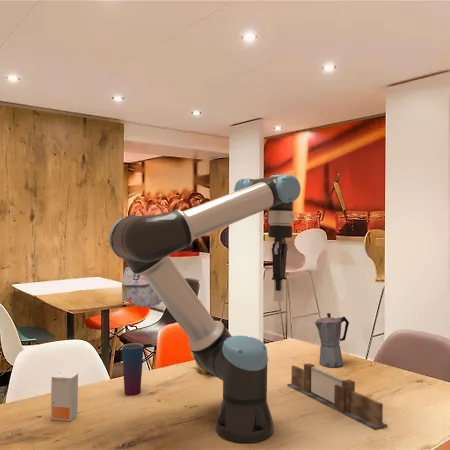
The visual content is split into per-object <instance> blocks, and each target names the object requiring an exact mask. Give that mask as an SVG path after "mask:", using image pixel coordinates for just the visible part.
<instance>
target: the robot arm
mask: <svg viewBox="0 0 450 450" xmlns="http://www.w3.org/2000/svg"><path fill="white" fill-rule="evenodd" d="M300 194H301V183H300V182H299V179H298V178H297V177H296V176H295V175H292V174H272V175H270V176H269V177H263V178H260V177H259V178H254V179H253V178H249V177H247V178H239V179H238V180H237V181H236V183H235V185H234V189H233V192H231V193H228V194H226V195H222V196H219V197H218V198H215V199H212V200H210V201H207V202H204V203H201V204H199V205H196V206H194V207H191V208H188V209H186V210H185V209H184V211H181V210H179V209H174V210H171V211H167V212H163V213H158V214H150V215H149V214H146V215H145V214H143V215H137V214H132V215H131V214H130V215H127V216H125V217H122V218H120V219H118V220H117V221H115V223H114V224H113V225H112V227H111V229H110V232H109V237H108V242H109V246H110V249H111V250H112V252H113V253H114V254H115V255H116V256H117V257H118V258H121V259H122V260H123V261H124V262H125V264H126V265H127V266H128V267H129V268H130V269H131V270H132V272H133V273H134V274H135V275H142V276H144V278H145V279H146V281H147V282H148V283H149V285H150V286H151V287H152V289H153V290H154V291H155V293H156V294H157V295H158V297H159V298H160V301H161V302H162V304H163V305H164V306H165V308H166V309H167V311H168V312H169V313H170V315H171V316H172V318H174V320H175V321H176V322H177V323H178V325H179V327H180V328H181V329H182V330H183V332H184V333H185V334H186V336H187V337H188V339H189V341H188V347H189V349H190V352H191V351H192V352H193V357H194V358H193V357H192V358H193V359H194V361H195V363H196V362H197V364H198V365H199V366H200V367H201V368H202V369H203V370H205V371H207V373H210V374H211V375H213V376H215V377H216V378H218V379H219V380H221V381H222V401H221V404H220V407H219V410H218V414H217V416H216V420H215V432H216V433H217V435H218V436H220V437H221V438H223V439H224V440H228V441H231V442H236V443H243V444H244V443H256V442H261V441H264V440H267V439H268V438H269V437H270V438H271V436H272V435H273V434H274V419H273V417H272V412H271V410H270V407H269V404H268V400H267V399H268V362H269V358H268V350H267V346H266V344H265V343H264V342H263V341H261V340H260V339H258V338H256V337H252V336H248V335H231V333H230V331H229V330H228V329H227V327H226V326H225V324H224V323H223V322H222V321H220V320H214V318H213V317H212V316H211V314H210V313H209V312H208V310H207V308H206V307H205V306H204V304H203V303H202V302H201V300H200V298H199V297H198V296H197V294H196V292H194V290H193V289H192V287H191V286H190V285H189V283H188V282H187V280H186V279H185V276H183V273H181V272H180V270H179V269H178V267H177V266H176V265H175V263H174V262H173V260H172V259H171V257H170V255H172V254H175V253H177V252H179V251H182V250H184V249H185V248H188V247H190V246H192V244H193V241H195V240H196V239H199V238H201V237H203V236H206V235H208V234H210V233H211V234H212V233H214V232H215V231H218V230H220V229H221V230H222V229H223V228H225V227H227V226H230V225H232V224H235V223H237V222H239V221H242V220H244V219H247V218H249V217H251V216H253V215H256V214H258V213H260V212H263V211H265V210H268V221H267V222H268V224H269V225H268V228H267V236H268V237H269V238H274V242H273V243H272V247H271V254H272V255H271V256H272V277H271V281H272V280H273V281H274V283H273V284H274V285H273V287H274V288H273V301H274V302H284V296H285V295H284V294H285V293H284V291H285V289H284V288H285V287H284V286H285V280H287V277H286V267H287V266H286V265H287V256H288V249H289V248H288V243H287V242H286V239H291V238H293V231H294V230H293V226H292V224H293V221H294V220H293V218H296V217H295V216H296V215H295V214H294V212H293V211H294V202H295V201H296V200H297V199H298V198H299V197H300Z"/></svg>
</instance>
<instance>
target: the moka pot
mask: <svg viewBox="0 0 450 450" xmlns="http://www.w3.org/2000/svg"><path fill="white" fill-rule="evenodd" d="M343 322H345V325H344V332H343V336H342V335H341V332H342V323H343ZM349 323H350V321H349V320H348V319H347V318H346V317H345V316H342V317H337V318H335V317H331V313H330V312H328V313H326V317H323V318H319V319H316V321H315V322H314V325H315V326H316V329H317V330H318V337H319V339H320V347H319V350H320V351H319V360H318V361H319V363H318V364H319V365H320V366H322V367H324V368H339V367H341V366H343V365H344V361H343V356H342V351H341V350H342V349H341V346H340V342H343V341H346V337H347V334H348V333H347V332H348V329H349V326H350V325H349ZM341 336H342V338H341Z"/></svg>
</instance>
